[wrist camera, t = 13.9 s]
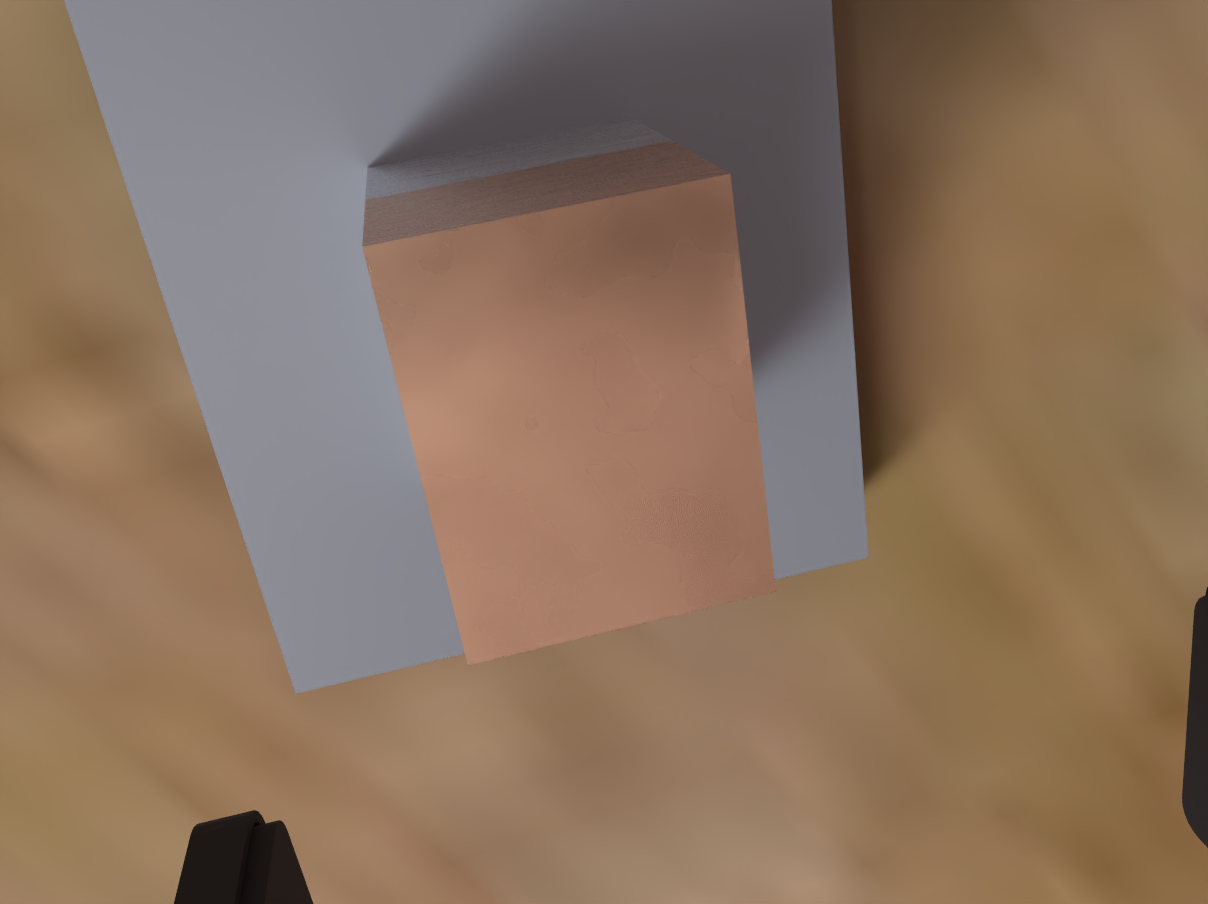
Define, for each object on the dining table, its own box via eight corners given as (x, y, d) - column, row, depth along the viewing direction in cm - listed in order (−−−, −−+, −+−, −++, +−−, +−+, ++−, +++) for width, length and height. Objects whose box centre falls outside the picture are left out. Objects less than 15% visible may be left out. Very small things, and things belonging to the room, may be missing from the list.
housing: (630, 117, 25) (730, 173, 18) (675, 435, 29) (775, 591, 21) (367, 166, 25) (362, 247, 17) (444, 487, 28) (467, 665, 21)
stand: (829, 510, 34) (868, 557, 31) (302, 633, 32) (295, 693, 30) (775, -155, 26) (820, -170, 24) (86, -40, 25) (49, -42, 22)
